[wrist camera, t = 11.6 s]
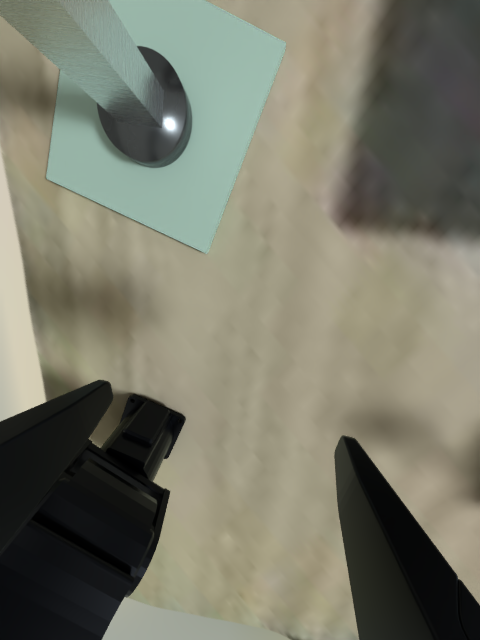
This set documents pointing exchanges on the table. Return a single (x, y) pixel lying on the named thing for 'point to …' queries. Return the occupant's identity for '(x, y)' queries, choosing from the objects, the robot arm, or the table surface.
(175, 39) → the rest mat
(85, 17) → the square pillar on disc
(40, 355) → the table surface
